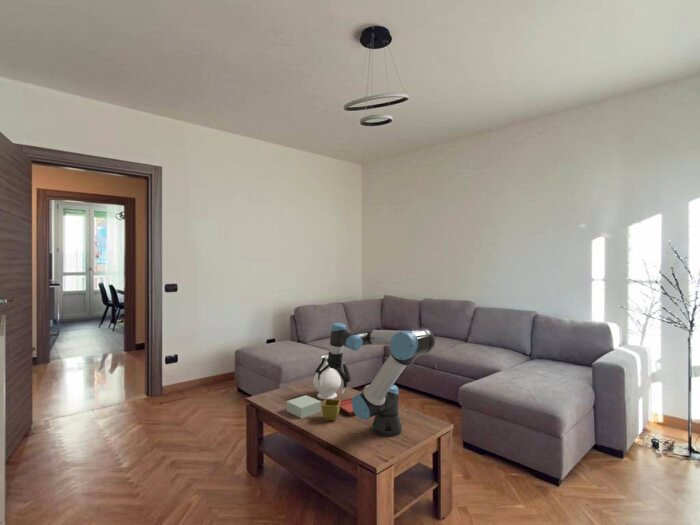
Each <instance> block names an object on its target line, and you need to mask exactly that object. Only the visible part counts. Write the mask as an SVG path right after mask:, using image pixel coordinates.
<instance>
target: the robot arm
mask: <svg viewBox="0 0 700 525" xmlns="http://www.w3.org/2000/svg"><path fill="white" fill-rule="evenodd" d="M369 345H370V346H389V356H388V358H387V359H386V360H385V362H384V363H383V364H382V366H381V367H380V369H379V370H378V372H377V374H376V375H375V377H374V378H373V380H372V381H371V383H370V384H367V385H365V386H364V388H363V389H362V390H361V391H360V393H359V394H355V395H354V396H353V397H352V398H353V399H352V408H353V411H354V413H355V416H356V417H357V418H358V419H360V420H368V419H369V418H373V421H372V424H371V426H372V427H371V430H372V432H373V433H374V434H376V435H379V436H382V437H394V436H398V435H400V434H401V433H402V431H403V425H402V423H401V419H400V416H399V405H400V403H399V400H400V398H399V397H400V396H399V395H400V393H399V387H398V386H397V385H395V382H396V381H397V379H399V377H400V375H401V373H402V372H403V371H404V370H405V368H406V367H408V366H409V367H410V366H412V365H413V364H414V362H415V360H416V359H417V358H418V357H419V356H422V355H425V354H428V353H430V352H431V351H432V350H433V349H434V347H435V345H436V338H435V335H434V333H433V332H432V331H431V330H430V329H428V328H426V327H418V328H411V329H409V330H406V329H404V330H387V329H385V330H381V329H380V330H377V329H373V328H372V329H368V330H362V331H361V330H360V331H355V332H350V331H349V330H347V325H346V324H344V323H343V322H335V323H332V325H331V329H330V338H329V347H328V354H327V355H328V358H326V357H324V358H321V360H322V362H321V363H320V362H319V365H318V367H317V368H316V370H315V373H318V380H319V387H320V386H321V385H322V380H323V373H322V372H323V371H325V370H326V369H327V368H328V367H330V368H333V369H335V370H336V371H337V373H338V374H339V375H340V378H341V380H342V381H341V390H340V391H341V393H340V394H344V393H345V389H346V388H347V386H348V383H349V382H351V380H352V378H351V375H350V371H349V369H348V362H343V355H344V354H343V352H344V347H345V348H347V349H348V350H350V351H351V350H352V351H354V352H356V351H358V350H360V349H361V348H362V347H364V346H369ZM326 361H327V362H328V365H327V366H326V367H325V368H323V369H322V370H321V371H320V369H321V368H322V366H323V364H324V363H325V362H326Z"/></svg>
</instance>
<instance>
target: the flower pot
mask: <svg viewBox="0 0 700 525" xmlns="http://www.w3.org/2000/svg"><path fill="white" fill-rule="evenodd" d="M341 400H342V399H324V401H323V403H321V412H322V415H323V418H324V419H325V421H332V422H335V421H336V419H337V418H338V416H339V413H340V410H341V409H340V404H341Z"/></svg>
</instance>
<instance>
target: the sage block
mask: <svg viewBox="0 0 700 525" xmlns="http://www.w3.org/2000/svg"><path fill="white" fill-rule="evenodd" d="M286 412H288V413H290V414H291V415H294V416H295V417H298V418H300V419H304V418H306V417H309V416H311V415H314V414H315V415H316V414H317V413H320V412H322V401H321V400H318V399H317V398H313V397H311V396H310V395H306V394H305V395H302V396H299V397H296V398H293V399H290V400H287V401H286Z"/></svg>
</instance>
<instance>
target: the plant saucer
mask: <svg viewBox="0 0 700 525" xmlns="http://www.w3.org/2000/svg"><path fill="white" fill-rule="evenodd" d="M352 399H353V397H350V398H345V399H340V400H341V404H340V410H341V411H343V412H344V413H346V415H347V414H348V415H349V416H356V414H355V413H354V411H353V408H352Z"/></svg>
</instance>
